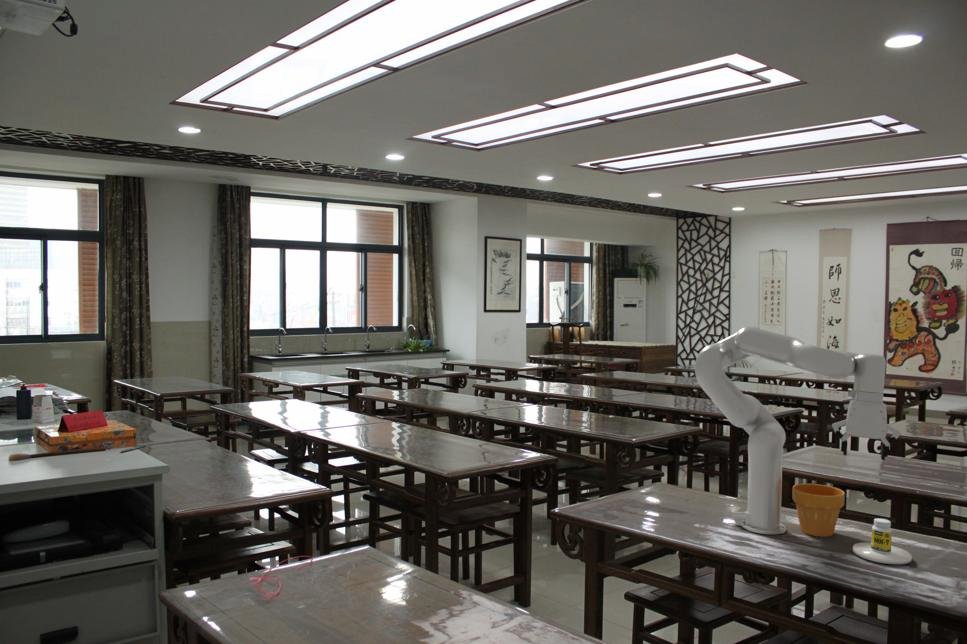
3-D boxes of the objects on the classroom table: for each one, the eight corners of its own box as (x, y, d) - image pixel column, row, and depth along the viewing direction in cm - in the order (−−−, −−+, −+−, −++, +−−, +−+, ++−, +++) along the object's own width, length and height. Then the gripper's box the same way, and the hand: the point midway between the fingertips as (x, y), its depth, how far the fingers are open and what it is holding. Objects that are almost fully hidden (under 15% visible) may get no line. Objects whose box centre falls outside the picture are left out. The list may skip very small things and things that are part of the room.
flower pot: (837, 543, 206) (839, 498, 206) (785, 533, 215) (787, 490, 214) (847, 531, 217) (849, 488, 217) (797, 522, 226) (799, 481, 225)
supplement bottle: (871, 552, 195) (872, 521, 194) (870, 546, 199) (871, 516, 199) (891, 555, 192) (892, 524, 192) (890, 550, 197) (891, 519, 196)
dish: (855, 561, 192) (856, 555, 192) (849, 545, 205) (850, 539, 205) (916, 569, 187) (916, 563, 186) (906, 552, 200) (906, 546, 200)
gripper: (834, 395, 205) (830, 455, 206) (904, 402, 198) (899, 463, 199) (833, 392, 212) (829, 450, 212) (901, 399, 205) (896, 458, 206)
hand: (863, 456), depth 206 cm, fingers open, 9 cm apart
